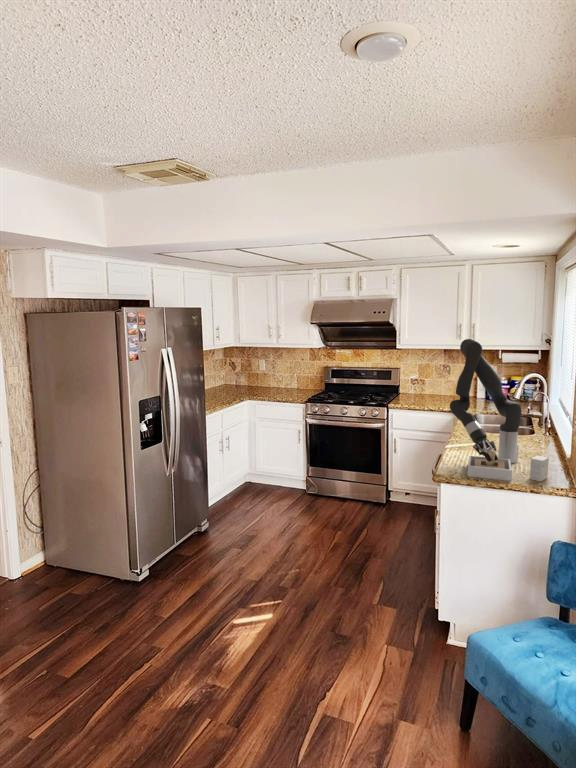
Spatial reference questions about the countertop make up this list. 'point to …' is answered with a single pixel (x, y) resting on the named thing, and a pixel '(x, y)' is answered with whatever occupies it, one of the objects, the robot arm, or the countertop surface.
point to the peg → (492, 455)
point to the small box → (539, 468)
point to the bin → (489, 469)
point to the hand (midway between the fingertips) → (493, 460)
